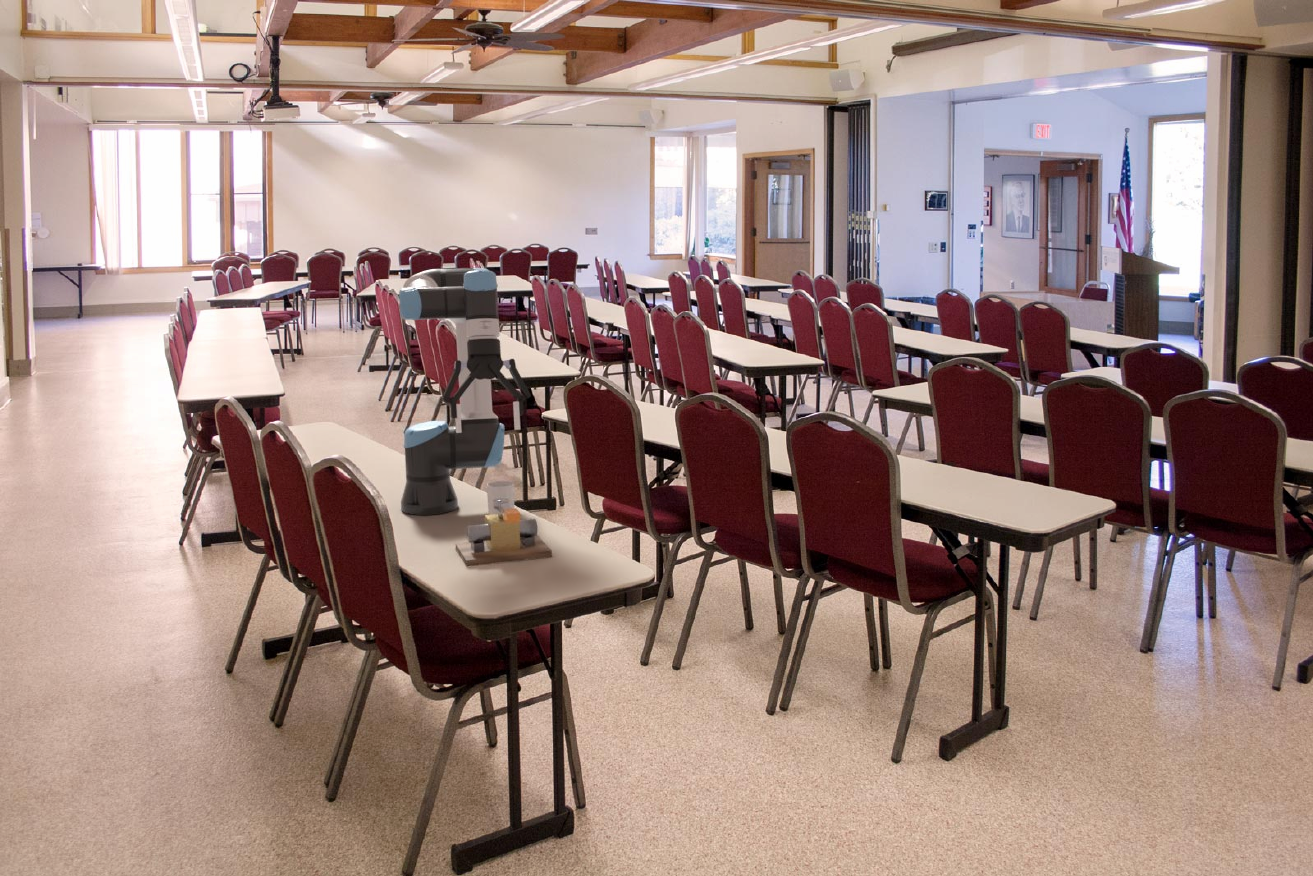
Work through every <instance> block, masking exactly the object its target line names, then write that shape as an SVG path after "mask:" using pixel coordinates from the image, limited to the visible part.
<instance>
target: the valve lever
mask: <svg viewBox="0 0 1313 876" xmlns="http://www.w3.org/2000/svg"><path fill="white" fill-rule="evenodd" d="M493 503H494V509H497V510H500V511H501V512H502V513H503V519H504V520H505V521H506V523H507V524H508V523H517V522H520V520H521V512H520V511H519V510H518V508H517V507H516V508H515V507H514V509H512V507H511V506H510V505H509V499H506V498H499V499H495V500H493Z"/></svg>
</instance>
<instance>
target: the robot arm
mask: <svg viewBox="0 0 1313 876" xmlns="http://www.w3.org/2000/svg"><path fill="white" fill-rule="evenodd" d="M498 288H499V287H498V283H497V274H496V273H495V272H494V271H492V270H489V269H487V268H483V267H482V268H481V267H459V268H458V267H457V268H432V269H427V270H423V271H421V272H418V273H415V274H413V275H411V276H409V278H407V279H406V281H405V282H404V284H403V286H402V288H401V289H399V291H398V295H399V297H398V298H399V317H400V318H401V319H403V320H411V321H419V320H421V321H422V320H439V319H442V320H443V319H445V320H446V319H448V320H450V321H451V322H452V323H453V324H454V325H455V334H456V335H455V336H456V351H457V352H456V353H457V360H455V361H454V363H453V371H452V374H451V376H450V378H449V381H448V383H447V385H446V387H445V390H444V392H443V394H442V396H441V401H442V402H444V403H447V404H449V406H450V407H449V408H450V418H451V419H454V423H455V425H453V426H451V425H450V426H449V424H448V422H447V421H446V420H431V421H425V422H421V423H416V424H413V425H410V426H409V427H408V428H407V429H406V430H405V431H404V433H403V434H404V435H403V439H404V440H403V442H404V444H403V448H404V461H405V463H404V464H405V485H404V489H403V492H402V495H401V496H402V497H401V501H400V509H401V512H403V513H405V514H408V513H409V515H414V514H415V515H416V516H417V515H418V516H429V515H431V516H432V515H439V514H444V513H445V514H446V513H449V512H452V511H454V510H456V509H458V506H459V503H458V496H457V493H456V491H455V488H454V486H453V484H452V481H451V474H450V471H451V470H463V469H465V470H466V469H478V468H482V469H486V468H490V467H491V468H492V467H497V466H499V465H500V464H501V462H502V460H503V455H504V454H503V453H504V446H505V425H504V424H503V423H501V422H499V417H498V415H497V414H496V413H494V411H493V400H492V383H491V380H494V379H495V380H496V381H498V382H499V383H500V384H501V385H502V386H503V387H504V389H506V390H507V392H508V393H509V394H510V395H511V397H513V398H514V399H515V400H516V401H513V402H512V407H513V408H512V409H513V422H514V423H513V426H514V431H517V430H518V431H520V430H521V417H520V416H523V415H524V409H525V408H524V401H525V400H527V399H529V398H531V397H532V394H531V392H530V390H529V389H528V386H527V385H526V383H525V382H524V379H523V377H522V376H521V375H520V372H519V370H518V369H517V365H516V361H515V359H514V358H509V359H507V360H506V359H505V360H503V358H502V355H501V353H502V352H501V340H500V339H499V337H500V336H501V335H500V334H501V333H500V320H499V318H500V317H499V301H498ZM503 367H505V369H507V370H508V371H509V373H510V375H511V377H512V379H513V380H514V382H515V384H516V386H517V388H518V389H519V391H520V392H519V391H518V390H517V389H516V388H515V386H514V385H512V384H511V382H510V381H509V380H508V379H507V378H506V377H505V375H504V374H503V373H502V372H501V370H502V368H503ZM457 381H458V386H459V387H458V389H457V390H456V391H455V393H454V394H453V396H452V397H451V394H452V393H453V390H454V388H455V386H456V383H457ZM458 401H459V403H457V402H458Z"/></svg>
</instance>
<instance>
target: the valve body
mask: <svg viewBox="0 0 1313 876" xmlns="http://www.w3.org/2000/svg"><path fill="white" fill-rule="evenodd" d="M537 522H538V521H537V520H536V518H528V519H520V522H517V523H508V524H507V523H506V521H505V520H504V519H503V513H502V512H501V511H500V510H498V514H493V515H489V514H485V515H484V523H480V524H479V523H478V524H471V525H470V524H469V525H467V526H466V536H467V537H466V538H467V542H469V543H471V549H472V550H473V552H474V553H479V552H485V547H484V542H483V541H486V545H487V547H488V548H489V550H490V551H491V552H492V553H493V552H501V551H510V550H519V549H520V537H521V543H522V544H523V545H524V547H532V546H535V537H534V536H536V535H538V523H537Z"/></svg>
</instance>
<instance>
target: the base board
mask: <svg viewBox="0 0 1313 876" xmlns="http://www.w3.org/2000/svg"><path fill="white" fill-rule="evenodd" d="M534 537H535V546H532V547H524V545H523V544H522V543H521V537H520V549H519V550H510V551H501V552H493V553H492V552H491V551H490V550H489V548H488V547H487V545H486V541H483V542H484V547H485V552H479V553H474V552H473V550H472V549H471V543H469V542H468V541H467V542H466V541H465V542H456V543H455V544H454V545H455V551H456V552H457V554H458V555H459V557H460V559H461V560H462V561H463V563H464V565H465V566H466V567H475V566H482V565H483V566H485V565H492V563H493V564H500V563H501V564H503V563H508V562H517V561H526V560H525V559H528V560H535V559H543V558H544V557H545V558H551V557H550V556H552V557H553V555H552V554H553V553H552V552H553V551H552V549H551V548H550V547H549V546H548V545H547V544H546V542H544V540H543V539H542V538H541V537H540V536H539V535H538V534H537V535H536V536H534Z"/></svg>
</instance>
